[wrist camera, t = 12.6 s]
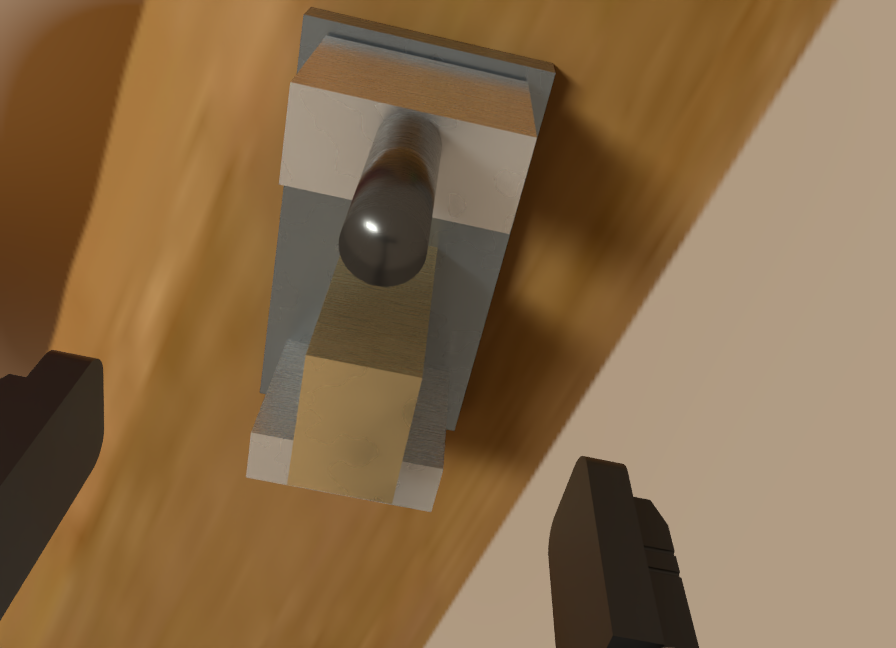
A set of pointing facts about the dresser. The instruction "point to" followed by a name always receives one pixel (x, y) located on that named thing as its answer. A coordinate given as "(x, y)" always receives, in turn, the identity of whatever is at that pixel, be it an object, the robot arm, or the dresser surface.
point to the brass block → (361, 385)
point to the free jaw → (405, 150)
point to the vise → (315, 258)
